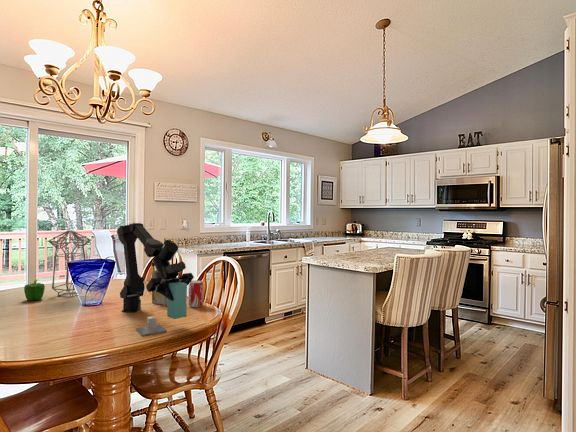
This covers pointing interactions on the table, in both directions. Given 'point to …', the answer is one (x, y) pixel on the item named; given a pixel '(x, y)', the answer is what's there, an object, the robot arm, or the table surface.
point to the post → (151, 323)
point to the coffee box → (157, 296)
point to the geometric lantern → (67, 256)
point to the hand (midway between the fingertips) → (179, 299)
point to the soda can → (196, 293)
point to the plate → (145, 332)
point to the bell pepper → (34, 291)
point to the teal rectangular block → (177, 300)
